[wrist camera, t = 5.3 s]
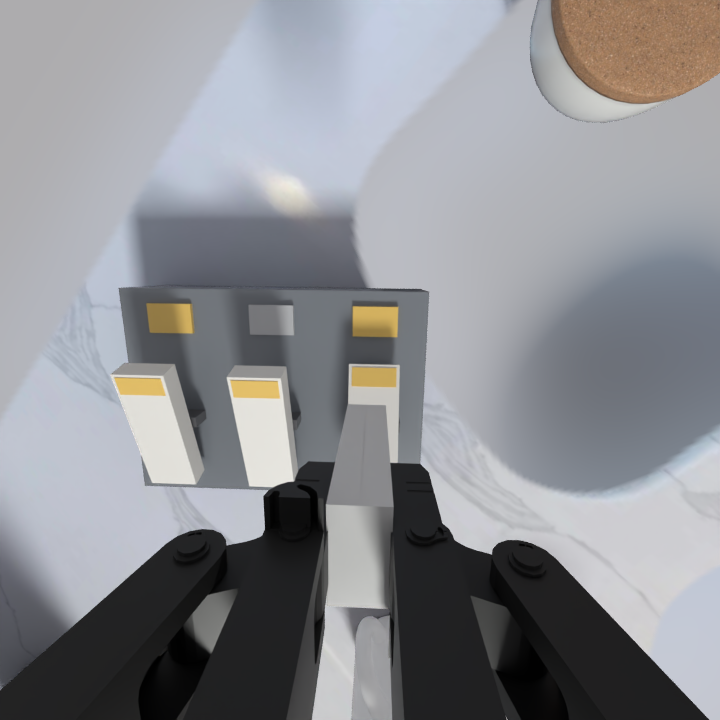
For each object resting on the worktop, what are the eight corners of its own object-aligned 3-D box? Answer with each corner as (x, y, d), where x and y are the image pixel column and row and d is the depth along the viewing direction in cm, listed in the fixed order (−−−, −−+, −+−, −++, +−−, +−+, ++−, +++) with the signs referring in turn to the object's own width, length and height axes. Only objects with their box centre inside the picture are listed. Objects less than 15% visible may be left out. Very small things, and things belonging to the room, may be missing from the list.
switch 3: (347, 497, 25) (346, 506, 23) (350, 363, 25) (348, 364, 23) (395, 498, 25) (396, 507, 23) (398, 364, 25) (399, 365, 23)
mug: (325, 597, 36) (305, 721, 26) (402, 570, 35) (413, 688, 25) (376, 686, 38) (376, 831, 28) (451, 662, 37) (478, 805, 27)
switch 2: (255, 471, 27) (249, 486, 26) (234, 365, 23) (226, 377, 21) (298, 472, 27) (294, 488, 26) (286, 366, 23) (280, 378, 21)
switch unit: (178, 454, 33) (132, 497, 27) (160, 285, 30) (102, 288, 24) (412, 462, 32) (420, 507, 26) (420, 289, 29) (432, 293, 23)
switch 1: (162, 468, 27) (151, 483, 26) (124, 362, 23) (109, 375, 22) (204, 469, 27) (196, 485, 26) (174, 364, 23) (162, 376, 22)
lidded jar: (556, -66, 24) (668, -278, 15) (700, 9, 24) (896, -151, 15) (477, 108, 26) (532, 18, 17) (611, 172, 27) (732, 119, 18)
